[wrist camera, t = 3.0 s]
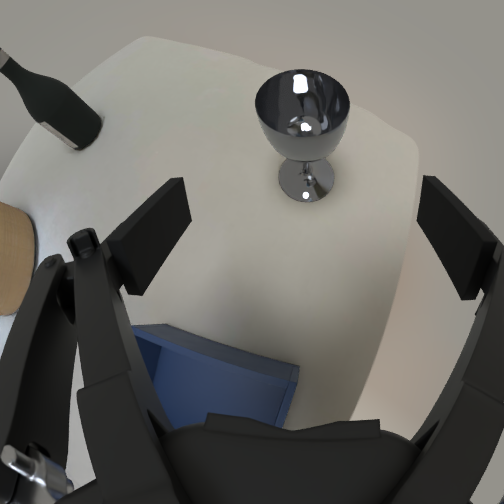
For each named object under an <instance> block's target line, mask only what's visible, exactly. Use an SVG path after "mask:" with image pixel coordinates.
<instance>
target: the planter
mask: <svg viewBox="0 0 504 504" xmlns="http://www.w3.org/2000/svg"><path fill="white" fill-rule="evenodd" d="M34 259H35V241H34V232H33V228H32V224H31V221H30V219H29V217H28V216H27V215H26V213H24V212H23V211H21V210H19V209H17V208H15V207H12V206H10V205H7V204H5V203H2V202H0V315H10V314H12V313H14V312H15V311H16V310H17V309H18V308H19V307H20V305H21V303H22V300H23V298H24V296H25V294H26V292H27V289H28V287H29V285H30V282H31V278H32V273H33V268H34Z"/></svg>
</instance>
